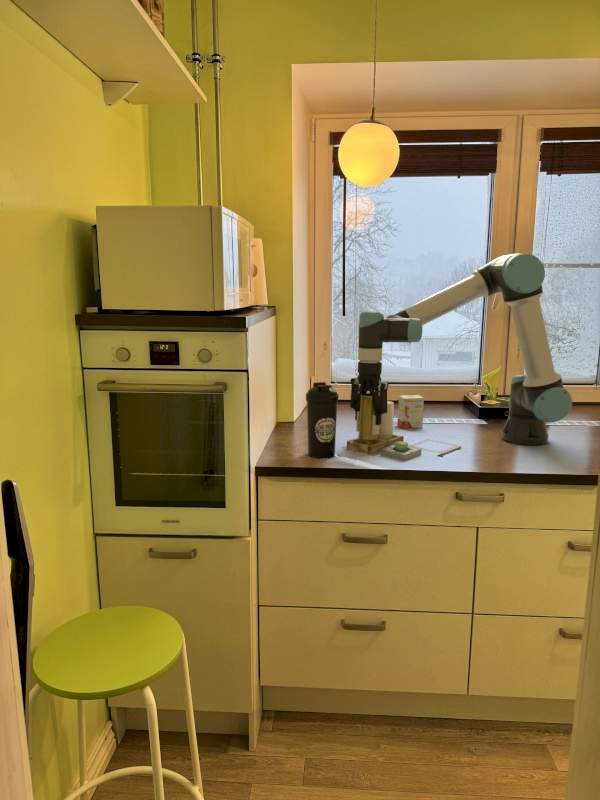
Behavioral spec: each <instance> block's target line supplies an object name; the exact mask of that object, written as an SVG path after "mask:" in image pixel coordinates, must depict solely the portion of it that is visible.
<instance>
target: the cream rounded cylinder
mask: <svg viewBox="0 0 600 800" xmlns="http://www.w3.org/2000/svg"><path fill="white" fill-rule="evenodd" d="M394 405H395V403H394V402H393V401H392V400H391V401H390V400H387V413H384V414H382V416H381V425H379V434H377V439H381V440H389V439H393V434H394V412H395V409H394V408H395V407H394Z"/></svg>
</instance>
